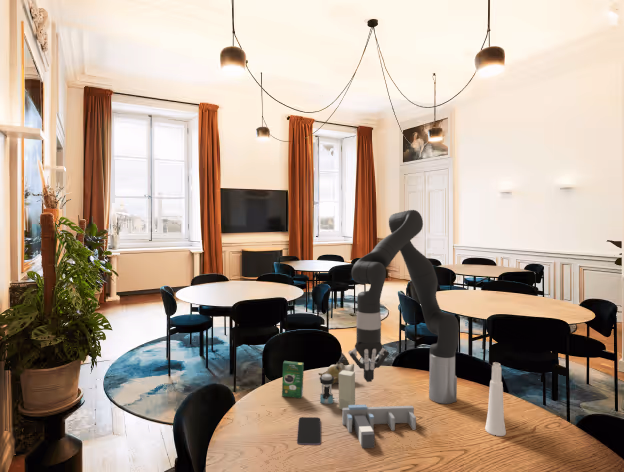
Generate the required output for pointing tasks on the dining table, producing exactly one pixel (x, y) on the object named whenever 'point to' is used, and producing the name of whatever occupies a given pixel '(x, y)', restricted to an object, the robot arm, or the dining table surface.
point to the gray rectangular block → (364, 431)
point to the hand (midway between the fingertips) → (368, 380)
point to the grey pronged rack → (380, 415)
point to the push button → (326, 389)
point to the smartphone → (309, 431)
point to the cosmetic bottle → (495, 404)
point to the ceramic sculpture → (337, 370)
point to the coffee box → (292, 379)
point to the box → (346, 389)
